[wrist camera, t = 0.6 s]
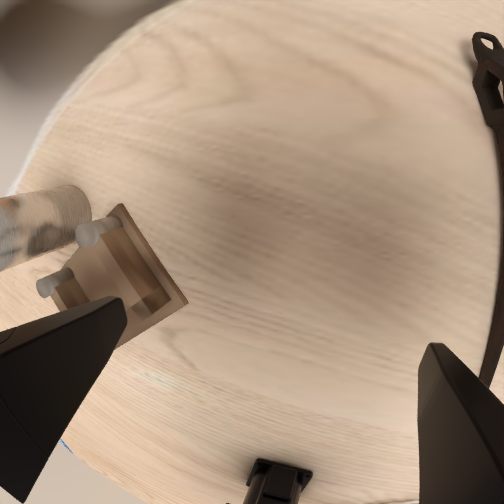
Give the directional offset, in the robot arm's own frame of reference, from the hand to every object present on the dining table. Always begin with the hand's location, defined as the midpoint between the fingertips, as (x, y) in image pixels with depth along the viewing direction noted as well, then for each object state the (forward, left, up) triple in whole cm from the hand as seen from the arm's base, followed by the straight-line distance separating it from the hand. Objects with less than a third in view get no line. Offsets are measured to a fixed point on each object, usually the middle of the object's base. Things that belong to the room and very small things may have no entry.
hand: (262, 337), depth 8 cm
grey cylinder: (-3, +22, -14) cm, 26 cm away
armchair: (-9, +16, -14) cm, 23 cm away
